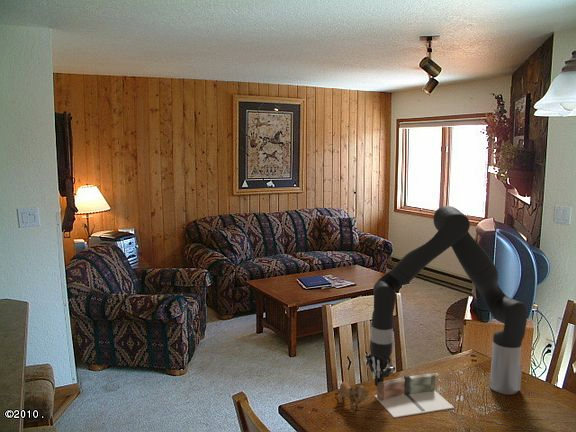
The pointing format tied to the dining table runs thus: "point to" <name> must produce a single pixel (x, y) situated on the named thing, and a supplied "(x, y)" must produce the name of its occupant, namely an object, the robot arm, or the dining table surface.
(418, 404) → the card
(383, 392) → the fence panel
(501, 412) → the dining table surface
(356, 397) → the lion figurine
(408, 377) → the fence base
